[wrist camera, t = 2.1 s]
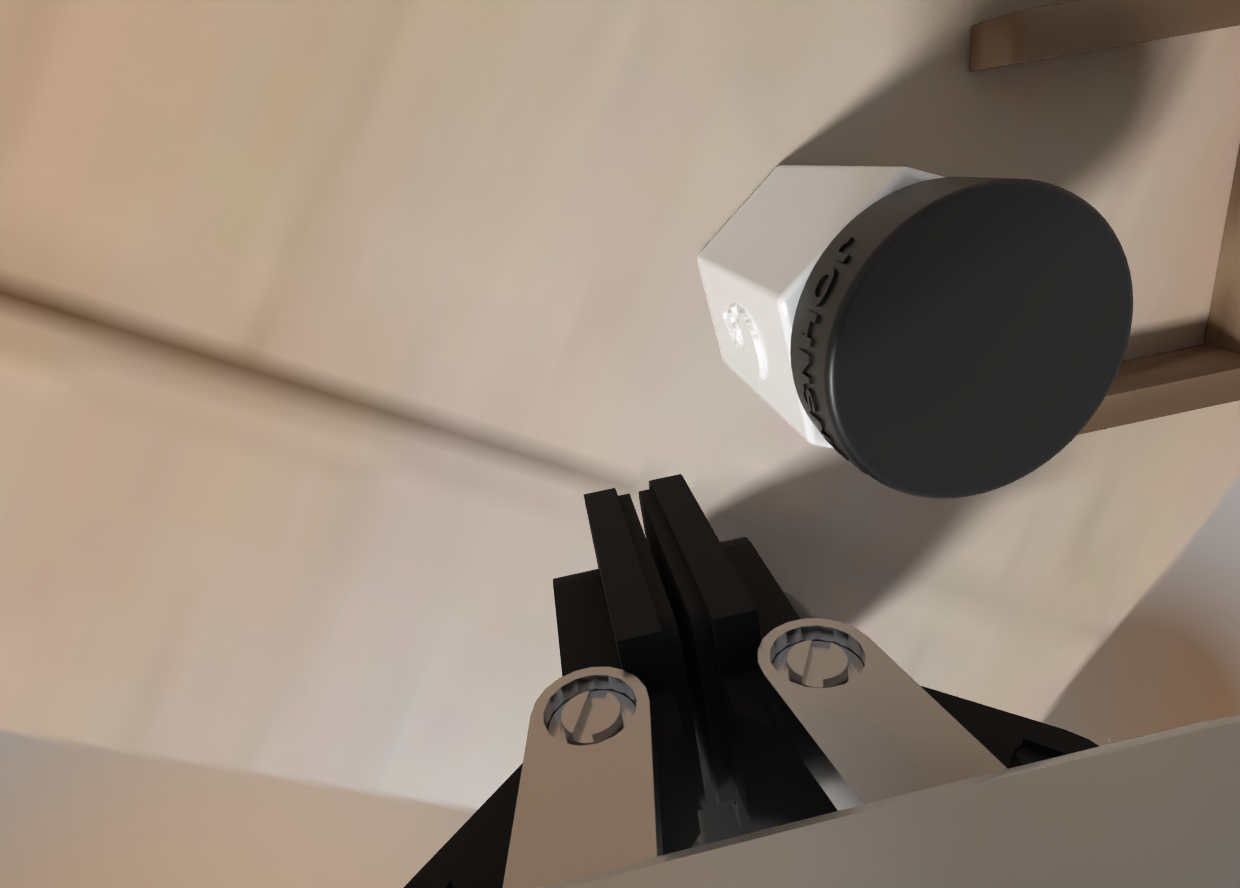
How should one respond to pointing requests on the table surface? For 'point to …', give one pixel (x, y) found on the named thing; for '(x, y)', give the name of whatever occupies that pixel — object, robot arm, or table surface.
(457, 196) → the table surface
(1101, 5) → the walnut bay
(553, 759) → the robot arm
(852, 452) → the jar
